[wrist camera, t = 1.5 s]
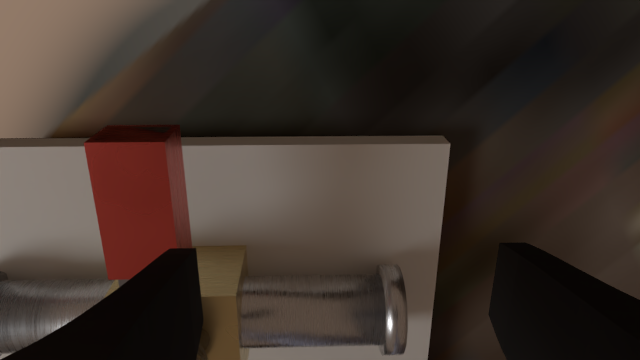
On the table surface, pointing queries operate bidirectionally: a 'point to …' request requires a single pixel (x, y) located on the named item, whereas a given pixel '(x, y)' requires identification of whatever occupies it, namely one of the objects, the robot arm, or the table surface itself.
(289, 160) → the mounting board
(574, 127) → the table surface
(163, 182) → the valve lever
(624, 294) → the robot arm
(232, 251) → the valve body
